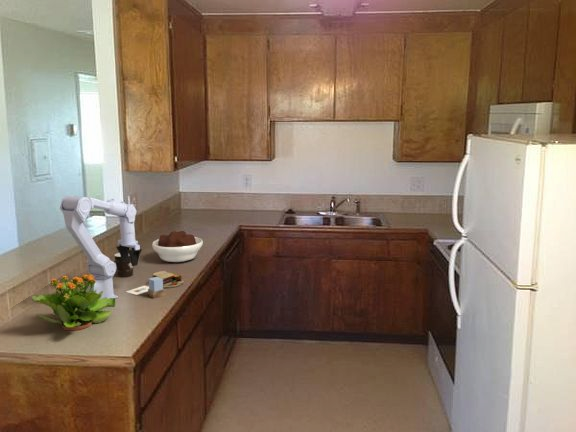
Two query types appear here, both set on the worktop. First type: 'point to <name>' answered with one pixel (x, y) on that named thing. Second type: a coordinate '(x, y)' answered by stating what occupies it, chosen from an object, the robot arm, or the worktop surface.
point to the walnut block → (156, 293)
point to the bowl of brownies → (177, 246)
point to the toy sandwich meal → (169, 279)
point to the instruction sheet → (138, 290)
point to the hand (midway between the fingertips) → (130, 263)
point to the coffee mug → (123, 266)
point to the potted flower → (76, 303)
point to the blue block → (155, 284)
